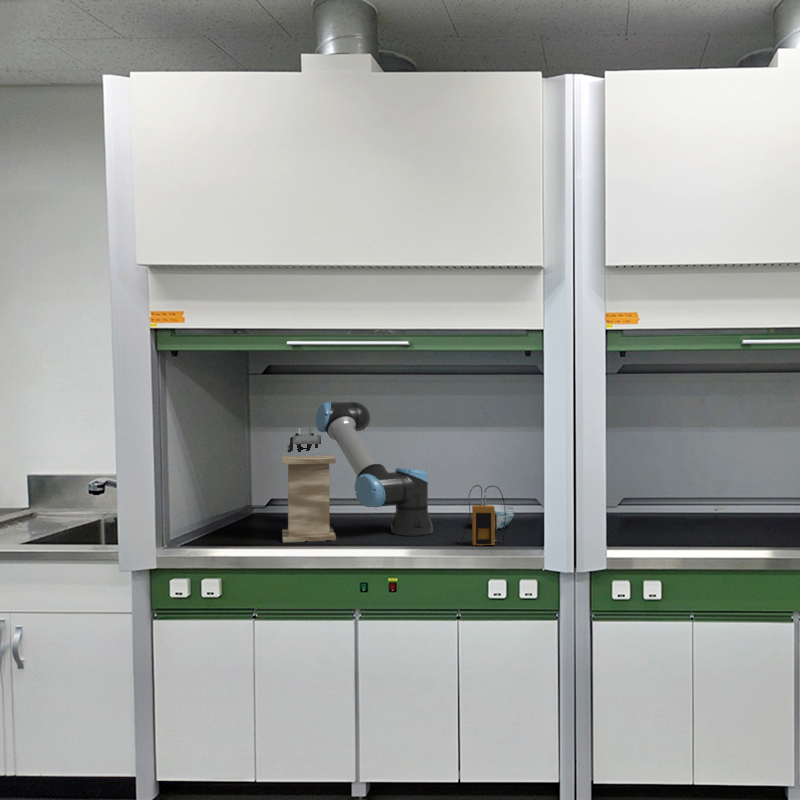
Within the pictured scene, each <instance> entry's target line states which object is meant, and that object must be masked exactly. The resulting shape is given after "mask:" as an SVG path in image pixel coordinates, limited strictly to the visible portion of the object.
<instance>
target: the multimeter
mask: <svg viewBox="0 0 800 800" xmlns="http://www.w3.org/2000/svg"><path fill="white" fill-rule="evenodd" d="M475 487H479V488H480V489H481V490H480V491H481V492H480V493H481V496H480V497H481V499H480V505H477V504H474V505H472V506H470V505H471V504H470V503H468V509H469V513H472V514H469V516H468V519H467V522H466V526H465V529H464V533H463V536H462V539H461V543H460V546H462V545H464V544H463V543H464V542H463V540H464V538H465V535H466V531H467V528H468V525H469V521H470V519H471V518H470V517H472V519H471V520H472V521H471V522H472V523H471V524H472V527H471V529H472V545H473V546H474V545H477V546H483V545H494V546H495V545H496V544H495V543H496V542H495V541H496V536H497V532H498V530H497V520H496V514H495V507H494V506H493V505H494V504H487V500H486V499H487V498H486V496H484V498H483V489H482V486H481V485H478V484H476V485H474V486H472V487H471V489H470V491H469V494H468V497H470V495H471V492H472V490H473V489H474V488H475ZM491 487H492V488H496V489H498V490H499V492H500V495H501V496H502V502H503V505H504V509H505V505H506V503H505V500H504V496H503V493H502V491H501V490H500V488H499V487H498V486H496V485H489V486H487V487H486V488H485V489H484V492H486V491H487V490H488V489H489V488H491ZM483 499H484V501H483ZM471 507H472V509H471ZM471 510H472V512H471ZM471 515H472V516H471ZM505 517H506V512H505ZM503 533H506V526H505V522H504V529H503ZM502 539H503V540H502V542H503V543H502V544H503V545H505V544H504V543H505V535H503V537H502Z"/></svg>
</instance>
